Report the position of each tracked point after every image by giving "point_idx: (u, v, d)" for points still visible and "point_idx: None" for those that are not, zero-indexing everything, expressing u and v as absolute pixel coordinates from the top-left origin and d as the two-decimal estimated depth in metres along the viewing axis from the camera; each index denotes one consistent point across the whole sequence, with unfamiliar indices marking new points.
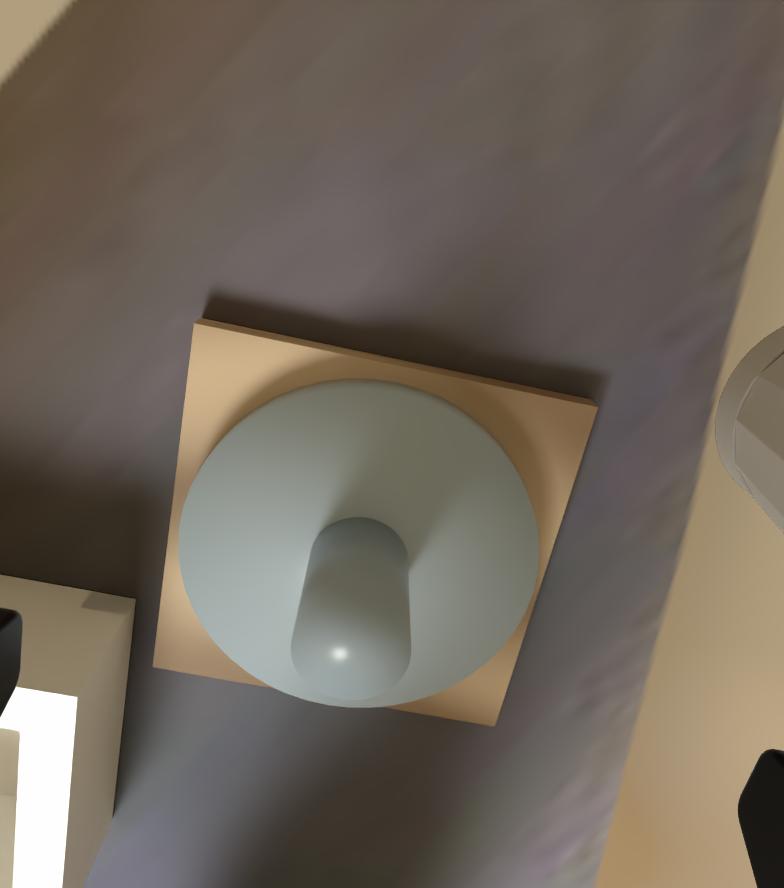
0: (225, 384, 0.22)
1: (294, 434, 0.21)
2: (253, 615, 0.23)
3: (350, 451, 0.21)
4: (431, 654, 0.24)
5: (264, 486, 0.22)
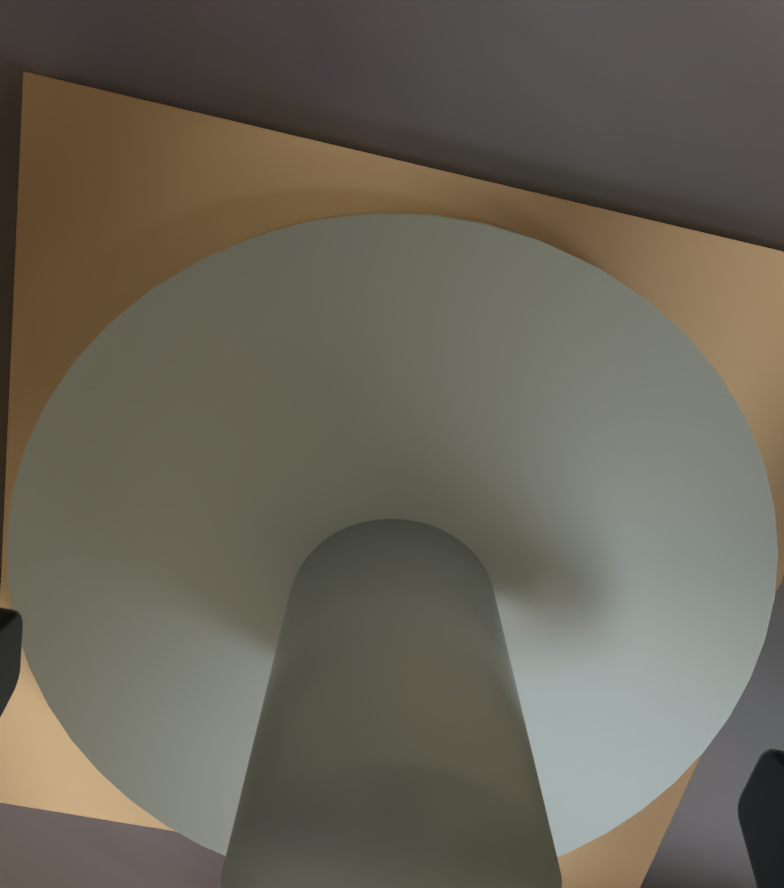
0: (86, 769, 0.13)
1: (122, 709, 0.11)
2: None
3: (144, 621, 0.11)
4: (645, 468, 0.10)
5: (231, 760, 0.12)
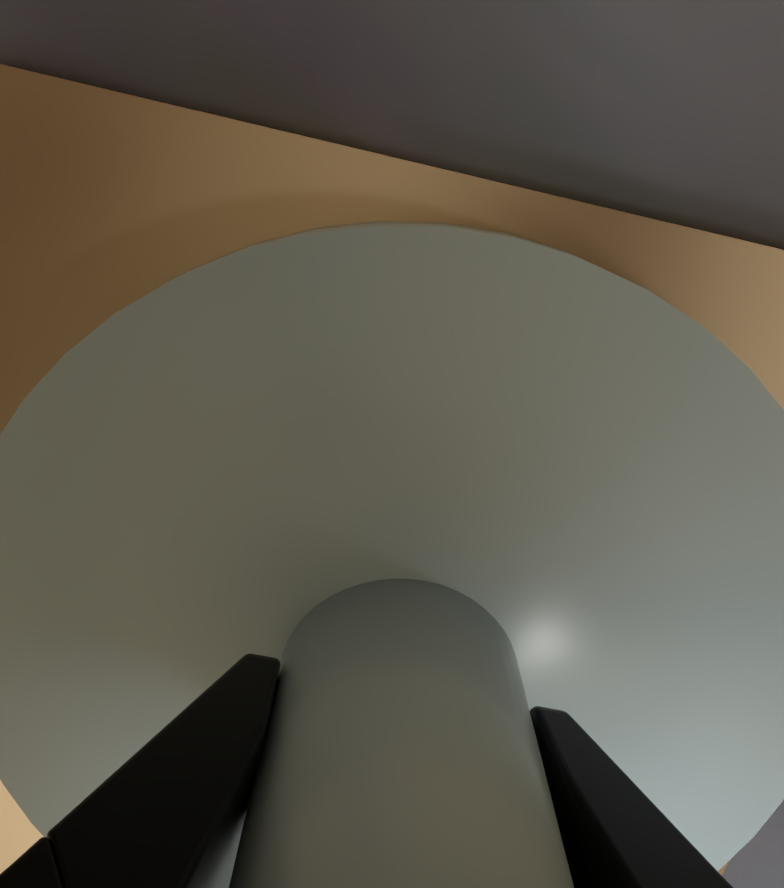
0: None
1: (89, 790, 0.10)
2: None
3: (112, 693, 0.09)
4: (696, 521, 0.09)
5: None
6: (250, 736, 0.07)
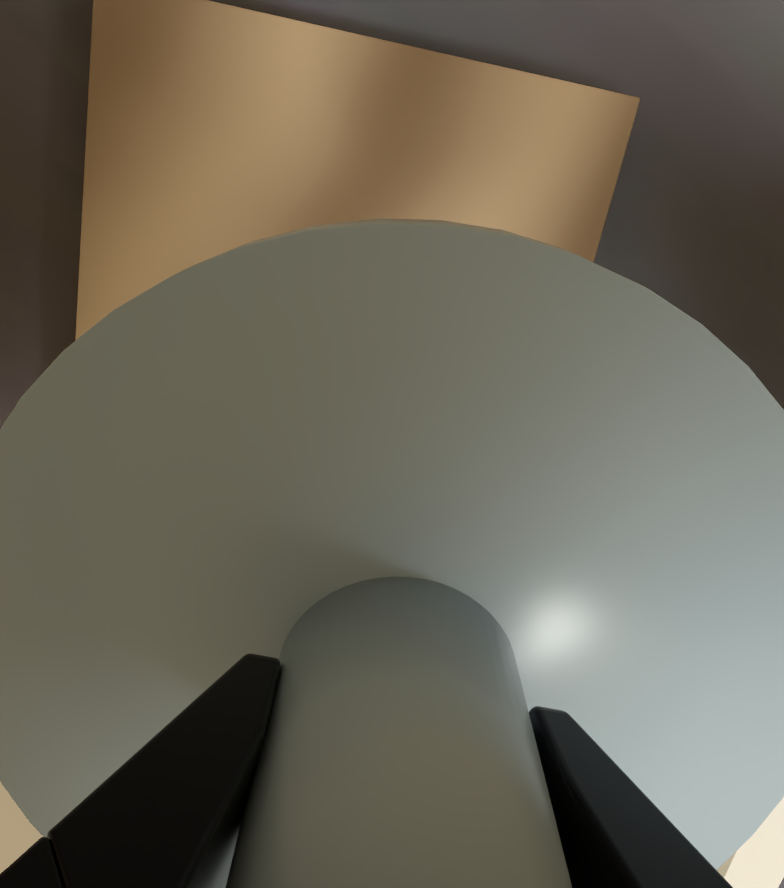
0: None
1: (87, 788, 0.10)
2: None
3: (111, 691, 0.09)
4: (694, 519, 0.09)
5: None
6: (250, 736, 0.07)
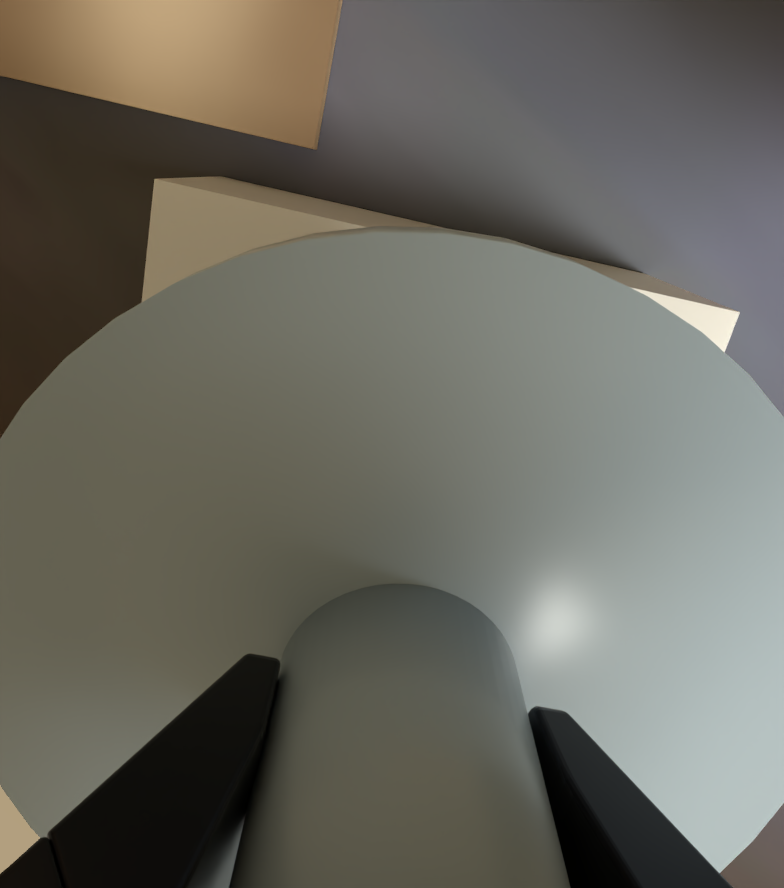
0: None
1: (88, 794, 0.10)
2: None
3: (112, 697, 0.09)
4: (695, 526, 0.09)
5: None
6: (250, 736, 0.07)
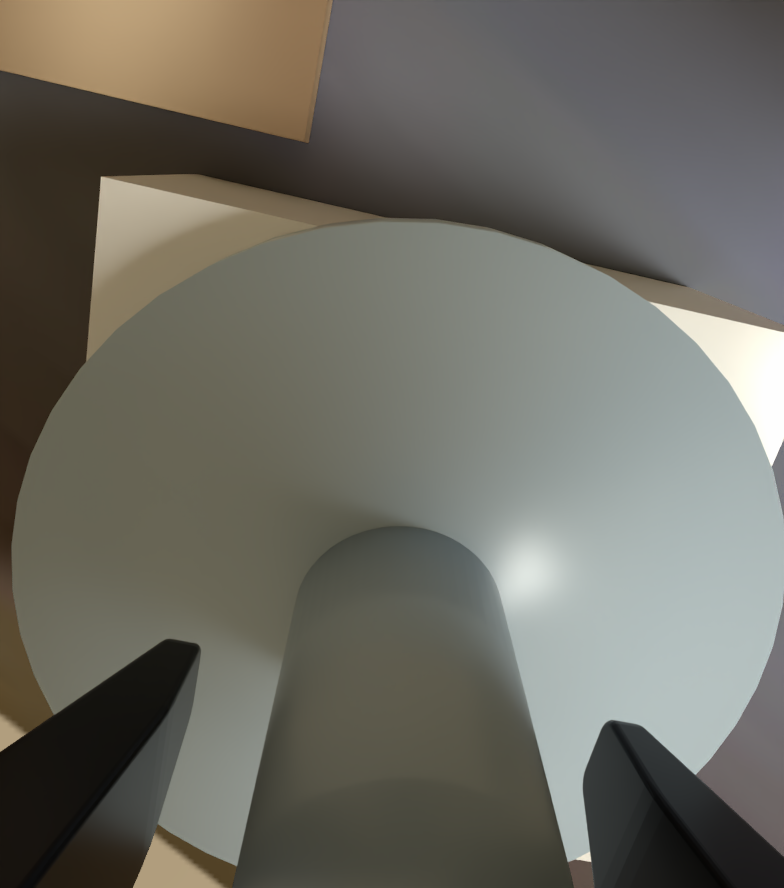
0: None
1: None
2: None
3: (150, 628, 0.11)
4: (653, 475, 0.10)
5: (237, 767, 0.12)
6: (151, 719, 0.07)
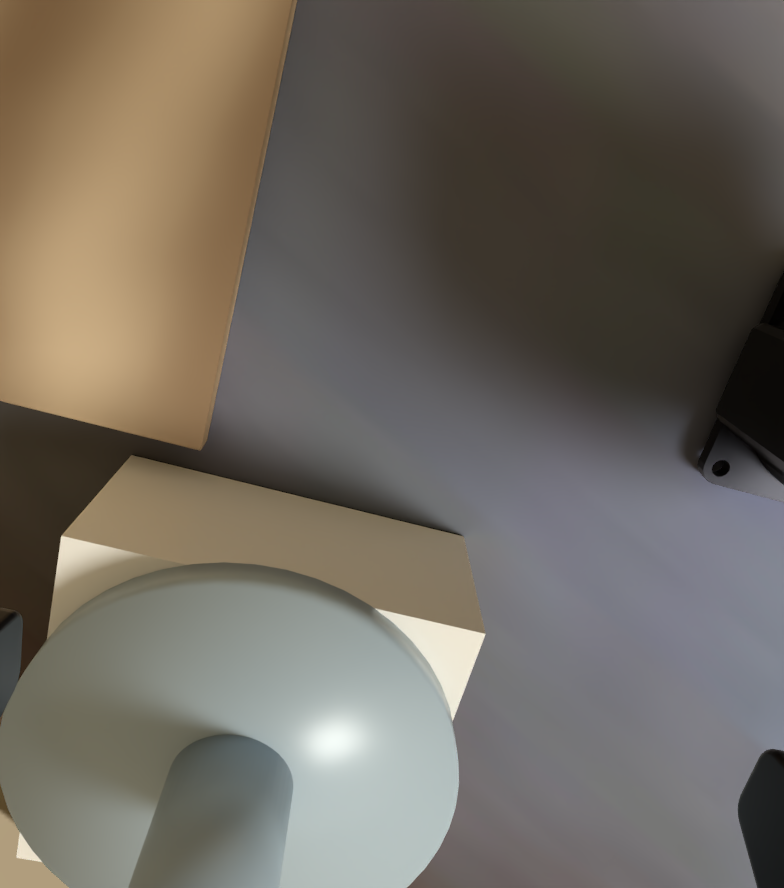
0: None
1: (64, 833, 0.18)
2: None
3: (80, 784, 0.18)
4: (376, 713, 0.17)
5: (132, 864, 0.19)
6: None
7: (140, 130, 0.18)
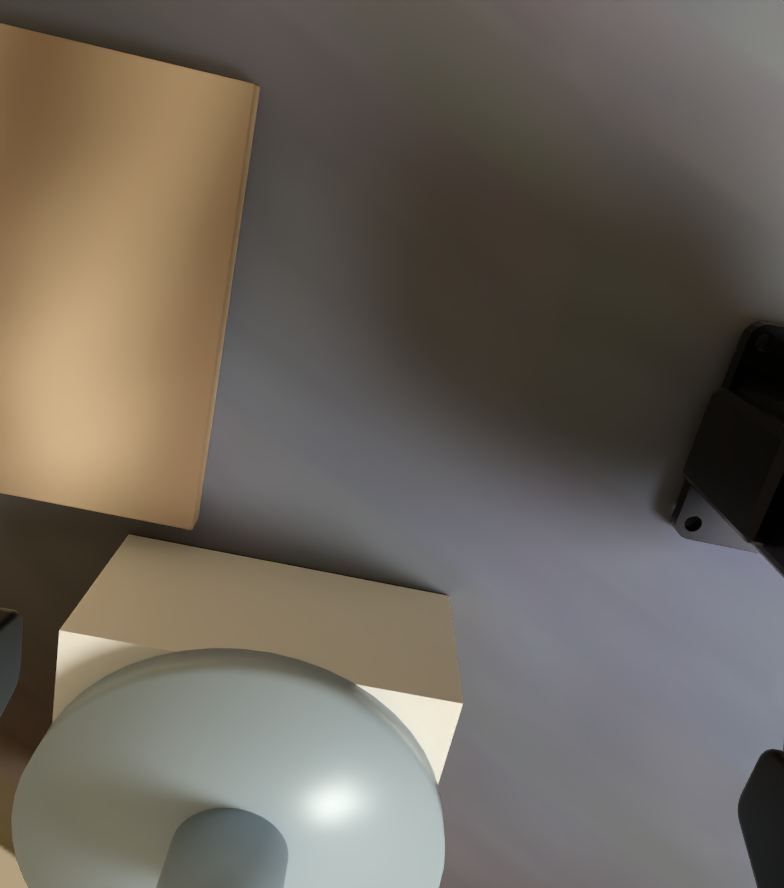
0: None
1: None
2: None
3: (89, 857, 0.19)
4: (361, 784, 0.18)
5: None
6: None
7: (116, 243, 0.19)
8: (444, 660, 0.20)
